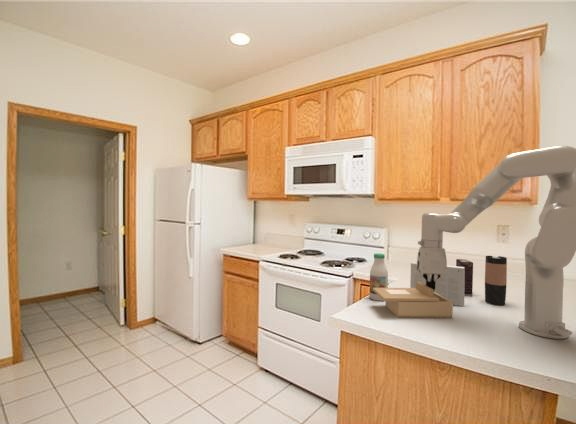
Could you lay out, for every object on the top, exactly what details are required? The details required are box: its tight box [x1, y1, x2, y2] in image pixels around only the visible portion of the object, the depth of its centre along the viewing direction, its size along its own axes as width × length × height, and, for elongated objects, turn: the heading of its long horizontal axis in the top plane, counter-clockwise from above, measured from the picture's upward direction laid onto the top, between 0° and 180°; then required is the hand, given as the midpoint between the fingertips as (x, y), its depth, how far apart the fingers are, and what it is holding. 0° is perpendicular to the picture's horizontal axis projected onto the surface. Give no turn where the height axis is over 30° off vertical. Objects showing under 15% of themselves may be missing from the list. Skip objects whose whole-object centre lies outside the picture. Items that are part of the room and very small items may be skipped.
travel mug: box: [484, 255, 508, 307], centre depth 127 cm, size 8×8×20 cm
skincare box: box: [409, 261, 465, 307], centre depth 130 cm, size 21×6×16 cm, turn 57°
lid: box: [373, 282, 439, 302], centre depth 115 cm, size 14×20×4 cm
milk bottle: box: [369, 253, 389, 302], centre depth 131 cm, size 8×8×20 cm
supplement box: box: [455, 258, 474, 297], centre depth 141 cm, size 9×5×16 cm, turn 168°
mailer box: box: [384, 292, 454, 319], centre depth 116 cm, size 14×20×6 cm
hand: (430, 290), depth 116 cm, fingers closed
